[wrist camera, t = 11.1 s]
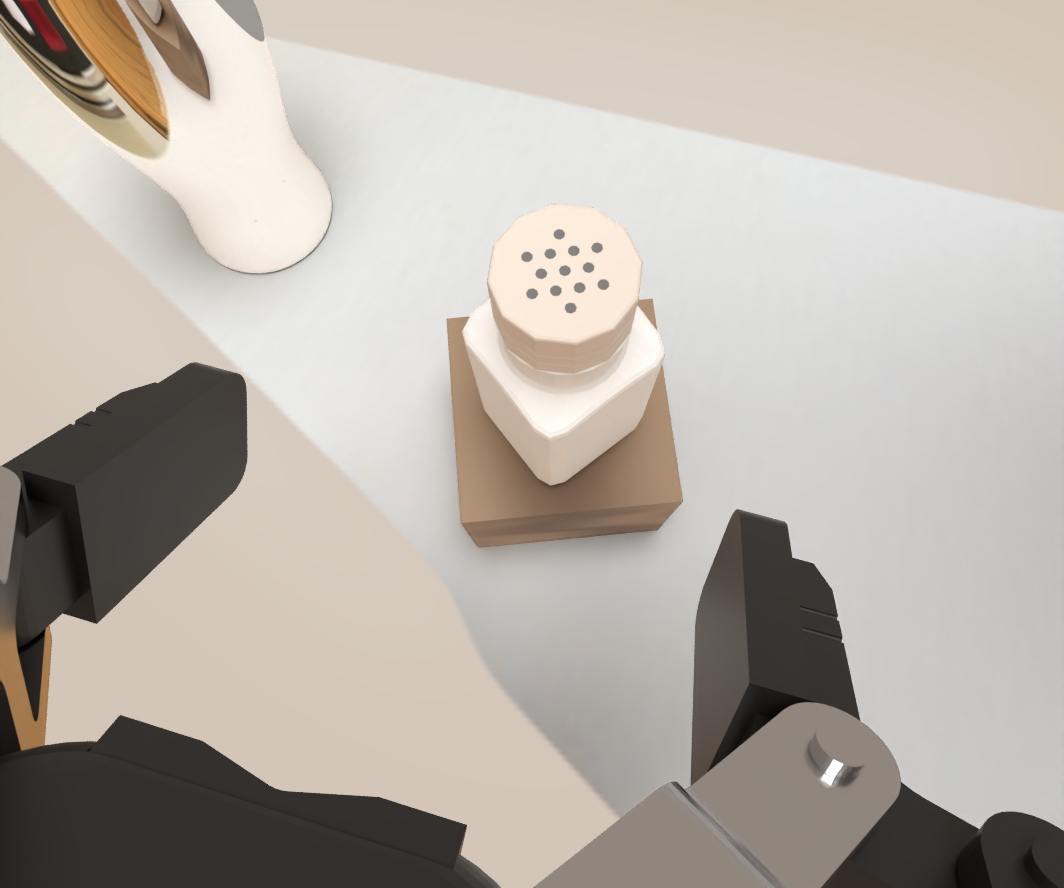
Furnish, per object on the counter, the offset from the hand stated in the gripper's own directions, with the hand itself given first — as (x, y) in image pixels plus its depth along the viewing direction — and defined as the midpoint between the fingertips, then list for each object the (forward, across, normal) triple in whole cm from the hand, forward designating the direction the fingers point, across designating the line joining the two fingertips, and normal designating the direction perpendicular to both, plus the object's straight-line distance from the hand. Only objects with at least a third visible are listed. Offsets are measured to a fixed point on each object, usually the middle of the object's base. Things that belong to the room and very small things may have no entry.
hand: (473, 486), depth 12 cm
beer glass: (+21, +15, +4) cm, 26 cm away
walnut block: (+16, 0, +9) cm, 18 cm away
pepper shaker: (+12, 0, +5) cm, 13 cm away
